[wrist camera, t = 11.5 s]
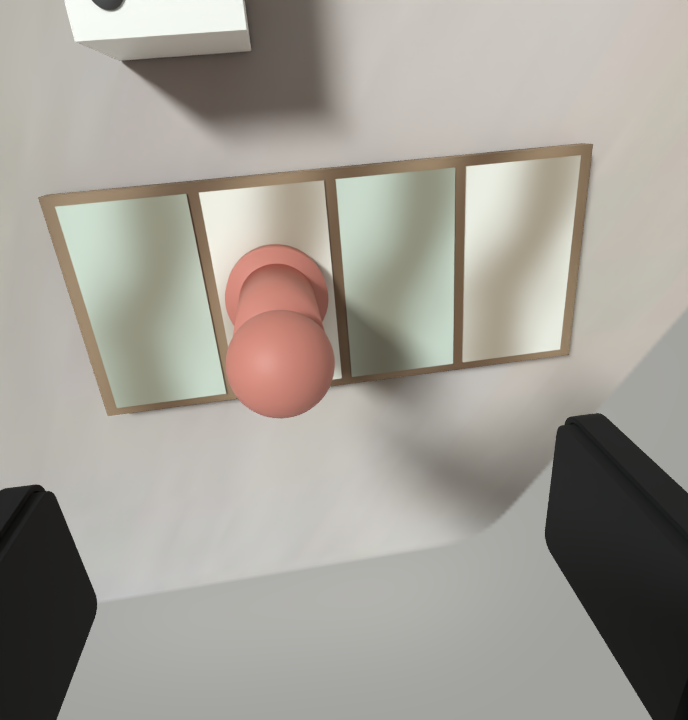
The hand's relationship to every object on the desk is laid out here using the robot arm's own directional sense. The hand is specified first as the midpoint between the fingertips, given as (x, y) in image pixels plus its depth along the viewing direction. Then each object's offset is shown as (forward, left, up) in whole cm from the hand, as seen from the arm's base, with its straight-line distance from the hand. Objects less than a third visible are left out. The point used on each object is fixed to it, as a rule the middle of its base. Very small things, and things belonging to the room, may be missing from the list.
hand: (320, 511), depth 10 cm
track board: (-2, 0, -16) cm, 16 cm away
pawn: (+1, 0, -15) cm, 15 cm away
